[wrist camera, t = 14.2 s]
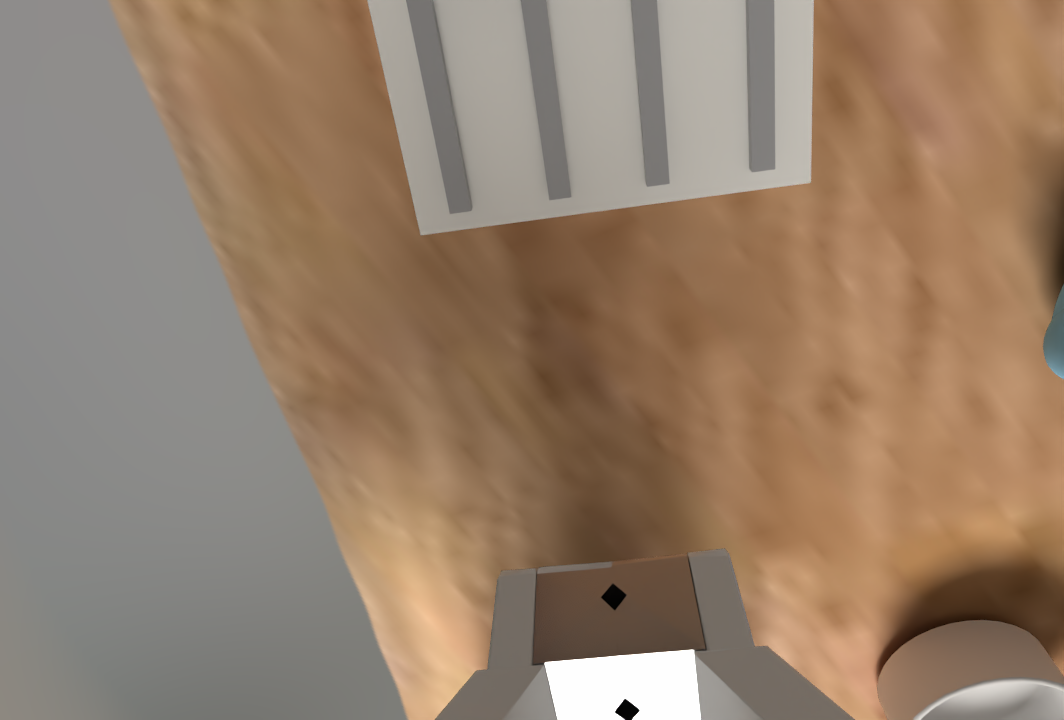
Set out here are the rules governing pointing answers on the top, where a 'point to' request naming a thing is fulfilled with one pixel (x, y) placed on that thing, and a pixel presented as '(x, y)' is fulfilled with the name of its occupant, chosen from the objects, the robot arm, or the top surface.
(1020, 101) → the top surface
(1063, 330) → the teapot
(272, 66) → the top surface
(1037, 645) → the saucepan
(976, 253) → the top surface
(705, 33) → the white board with strips
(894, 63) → the top surface
